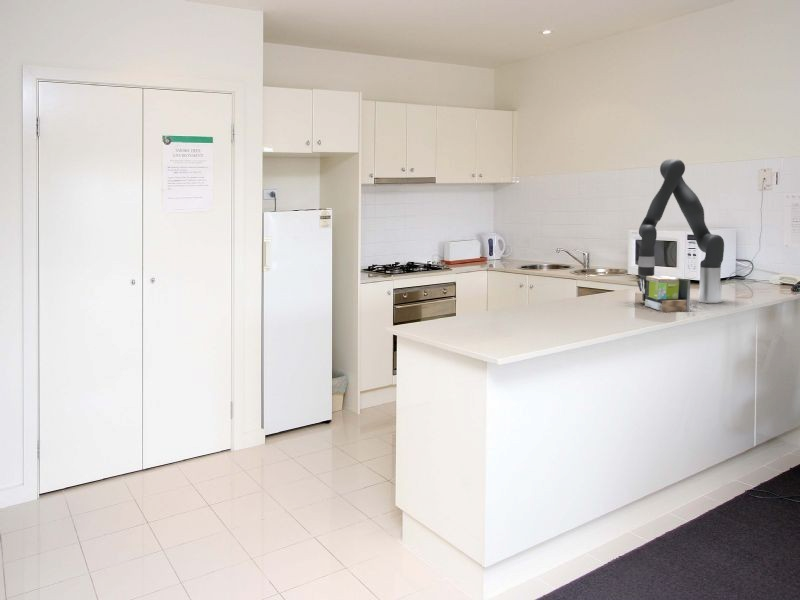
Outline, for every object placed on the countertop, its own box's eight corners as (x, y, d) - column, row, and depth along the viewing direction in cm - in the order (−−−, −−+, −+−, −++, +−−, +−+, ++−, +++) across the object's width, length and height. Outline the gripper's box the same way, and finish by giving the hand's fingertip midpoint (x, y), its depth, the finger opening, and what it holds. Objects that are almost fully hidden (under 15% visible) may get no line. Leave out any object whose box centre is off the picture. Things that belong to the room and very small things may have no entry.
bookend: (673, 306, 331) (674, 277, 329) (689, 310, 318) (690, 280, 316) (671, 307, 331) (672, 277, 329) (686, 311, 318) (687, 280, 316)
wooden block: (685, 310, 320) (686, 299, 319) (687, 311, 318) (687, 300, 317) (661, 311, 318) (661, 300, 317) (663, 312, 316) (663, 301, 316)
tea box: (678, 310, 321) (679, 278, 319) (657, 310, 320) (658, 278, 318) (664, 305, 336) (665, 274, 334) (644, 305, 335) (645, 275, 333)
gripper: (660, 266, 333) (659, 302, 335) (646, 264, 346) (645, 298, 348) (645, 267, 332) (644, 303, 334) (632, 264, 345) (631, 299, 347)
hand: (645, 300), depth 341 cm, fingers closed
